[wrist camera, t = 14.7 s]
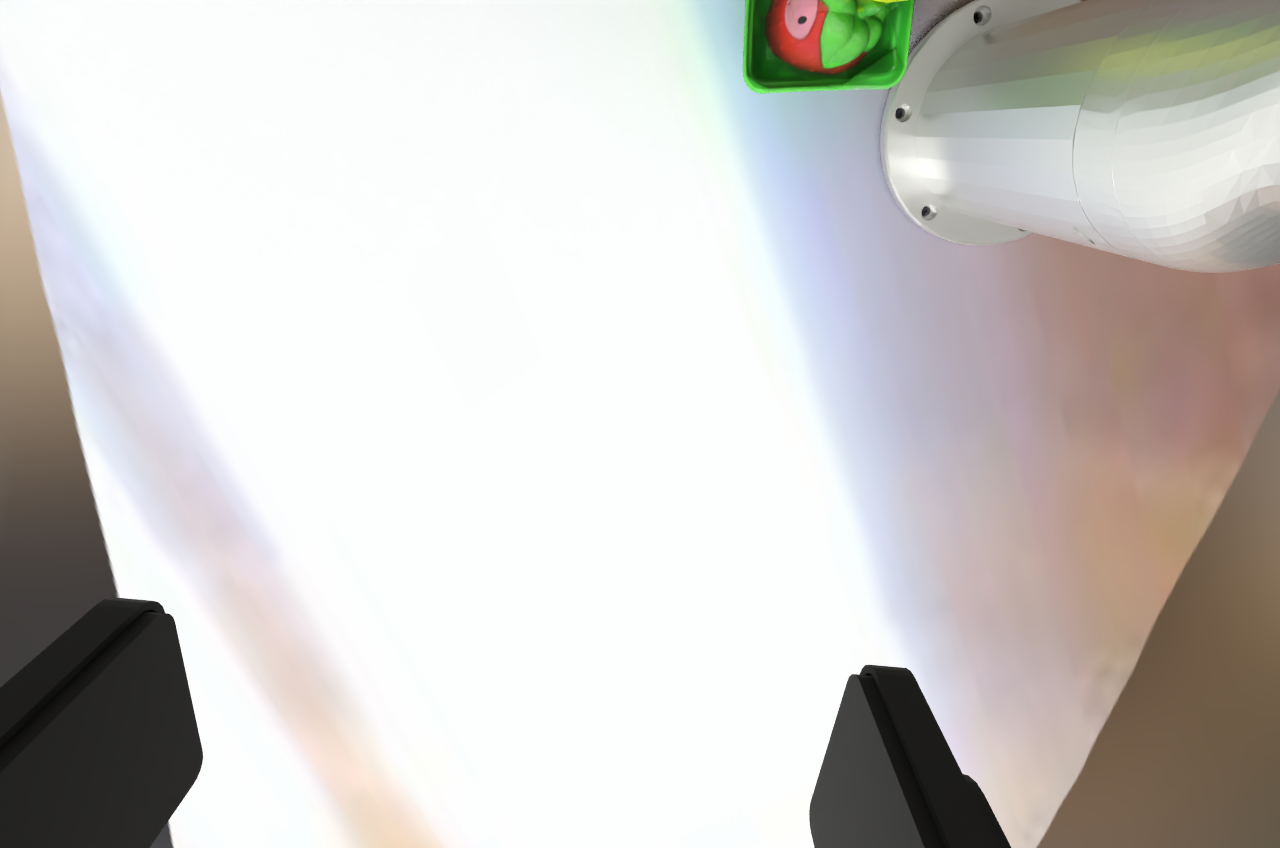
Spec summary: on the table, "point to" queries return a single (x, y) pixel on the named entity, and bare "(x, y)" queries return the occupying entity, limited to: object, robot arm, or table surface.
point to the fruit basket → (825, 44)
